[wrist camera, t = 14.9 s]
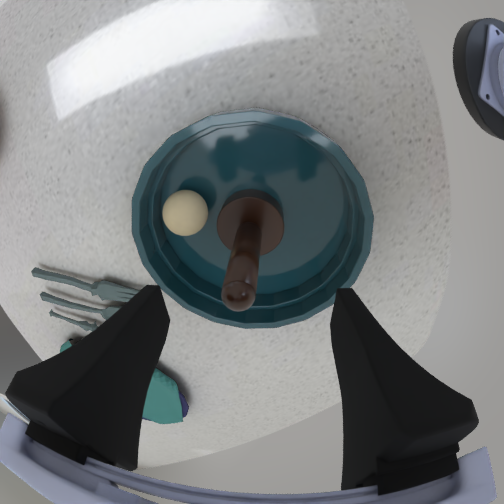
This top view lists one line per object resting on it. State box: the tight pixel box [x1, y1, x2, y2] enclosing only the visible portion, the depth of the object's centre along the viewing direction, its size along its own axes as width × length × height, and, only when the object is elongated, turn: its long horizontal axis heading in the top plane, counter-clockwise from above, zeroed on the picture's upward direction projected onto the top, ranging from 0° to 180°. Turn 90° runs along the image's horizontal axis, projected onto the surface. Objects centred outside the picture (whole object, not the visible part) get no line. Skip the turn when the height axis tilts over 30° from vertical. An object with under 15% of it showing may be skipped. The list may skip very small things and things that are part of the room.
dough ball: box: [162, 190, 208, 236], centre depth 18 cm, size 3×3×3 cm
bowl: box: [132, 108, 374, 329], centre depth 19 cm, size 15×15×4 cm
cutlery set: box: [31, 267, 189, 424], centre depth 31 cm, size 20×30×2 cm, turn 172°
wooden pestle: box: [217, 189, 284, 311], centre depth 16 cm, size 4×4×9 cm
